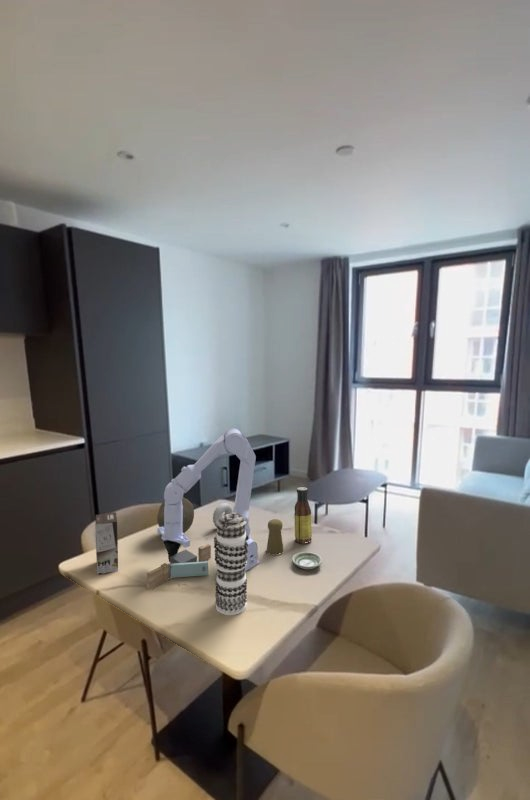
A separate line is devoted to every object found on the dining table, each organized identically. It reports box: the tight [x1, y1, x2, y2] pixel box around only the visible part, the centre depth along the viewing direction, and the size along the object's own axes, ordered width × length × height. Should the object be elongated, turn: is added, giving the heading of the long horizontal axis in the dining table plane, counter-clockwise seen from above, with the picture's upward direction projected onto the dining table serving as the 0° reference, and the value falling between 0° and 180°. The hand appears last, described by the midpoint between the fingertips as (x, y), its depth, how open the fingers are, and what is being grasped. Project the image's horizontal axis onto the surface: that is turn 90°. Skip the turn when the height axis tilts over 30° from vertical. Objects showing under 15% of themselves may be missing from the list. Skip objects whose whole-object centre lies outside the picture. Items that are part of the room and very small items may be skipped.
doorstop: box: [169, 549, 198, 564], centre depth 123 cm, size 6×6×4 cm
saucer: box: [291, 551, 323, 570], centre depth 126 cm, size 10×10×2 cm
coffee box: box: [94, 511, 119, 575], centre depth 124 cm, size 9×6×16 cm
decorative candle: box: [213, 513, 249, 616], centre depth 103 cm, size 9×9×25 cm
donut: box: [212, 502, 233, 528], centre depth 154 cm, size 10×4×10 cm, turn 141°
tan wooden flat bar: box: [146, 543, 212, 590], centre depth 121 cm, size 2×24×5 cm, turn 141°
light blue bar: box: [167, 560, 209, 579], centre depth 118 cm, size 2×12×4 cm, turn 99°
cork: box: [266, 518, 284, 555], centre depth 135 cm, size 6×6×11 cm
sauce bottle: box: [293, 486, 313, 544], centre depth 143 cm, size 7×6×20 cm
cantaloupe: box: [156, 497, 195, 534], centre depth 146 cm, size 14×14×15 cm
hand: (173, 561), depth 124 cm, fingers closed, pressing on doorstop
